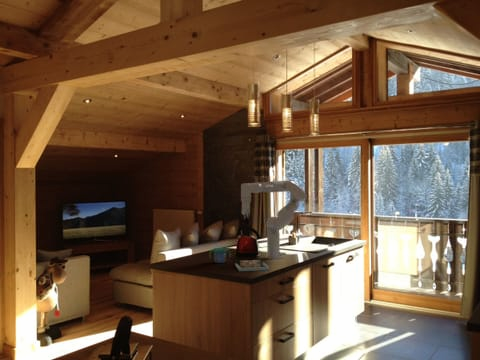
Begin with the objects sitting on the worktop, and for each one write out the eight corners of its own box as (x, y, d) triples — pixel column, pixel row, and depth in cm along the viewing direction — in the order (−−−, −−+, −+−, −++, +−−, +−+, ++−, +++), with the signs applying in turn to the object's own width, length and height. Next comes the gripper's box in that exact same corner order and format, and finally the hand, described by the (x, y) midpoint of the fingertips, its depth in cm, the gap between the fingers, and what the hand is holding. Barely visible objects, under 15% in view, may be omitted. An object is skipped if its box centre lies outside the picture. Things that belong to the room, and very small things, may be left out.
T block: (259, 265, 328) (259, 260, 328) (263, 269, 314) (263, 263, 314) (240, 266, 326) (240, 260, 326) (243, 270, 312) (243, 264, 312)
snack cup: (209, 264, 334) (209, 250, 334) (209, 261, 345) (209, 247, 345) (231, 263, 336) (231, 249, 336) (230, 260, 346) (230, 247, 346)
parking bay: (263, 265, 328) (263, 262, 328) (269, 270, 311) (269, 267, 311) (235, 266, 325) (235, 263, 325) (239, 271, 308) (239, 268, 308)
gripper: (239, 199, 358) (239, 223, 358) (242, 200, 343) (242, 225, 344) (249, 199, 359) (249, 222, 360) (252, 200, 345) (252, 224, 345)
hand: (246, 223), depth 352 cm, fingers closed
